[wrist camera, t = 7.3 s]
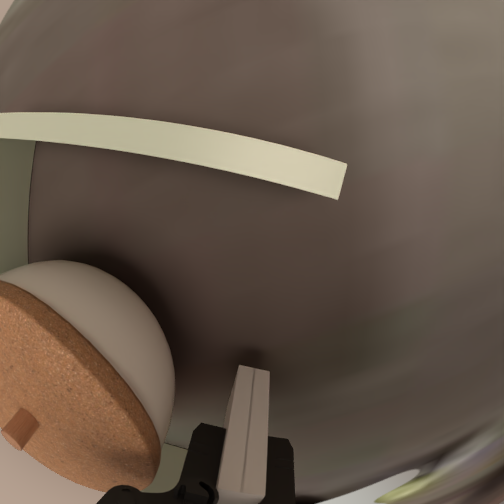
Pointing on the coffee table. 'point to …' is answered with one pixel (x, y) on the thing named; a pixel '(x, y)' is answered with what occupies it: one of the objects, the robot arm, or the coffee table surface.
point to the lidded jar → (83, 374)
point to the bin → (154, 144)
